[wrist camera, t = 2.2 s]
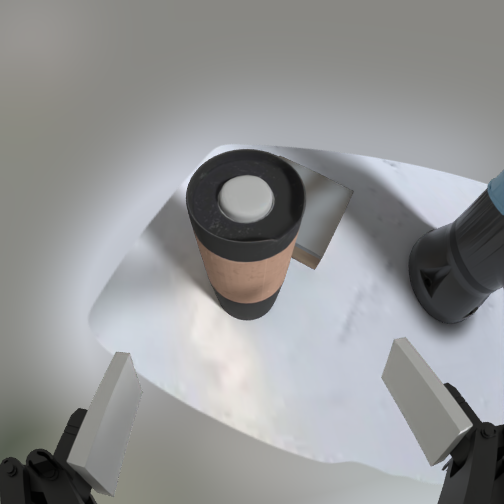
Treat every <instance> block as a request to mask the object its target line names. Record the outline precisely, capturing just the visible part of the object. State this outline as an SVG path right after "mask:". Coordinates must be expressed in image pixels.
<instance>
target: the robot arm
mask: <svg viewBox="0 0 504 504" xmlns="http://www.w3.org/2000/svg"><path fill="white" fill-rule="evenodd" d="M409 273H410V279H411V283H412V287H413V290H414V292H415V294H416V296H417V298H418V300H419V302H420V303H421V305H422V306H423V307H424V309H425V310H426V311H427V312H428V313H429V314H430V315H431V316H433V317H434V318H435V319H437V320H439V321H441V322H444V323H457V322H460V321H462V320H464V319H466V318H468V317H470V316H471V315H473V314H474V313H475V312H476V310H477V309H478V308H479V307H480V306H481V305H482V304H483V302H484V301H485V300H486V299H487V298H488V297H489V295H490V294H491V293H493V292H494V291H496V290H498V289H500V288H502V287H503V288H504V170H503V171H502V172H501V173H500V174H499V175H498V176H497V177H496V178H494V179H492V180H491V181H490V182H489V184H488V188H487V189H486V190H485V191H484V192H483V193H482V194H481V195H480V196H479V197H478V198H477V199H476V200H475V201H474V202H473V203H472V204H471V205H470V206H469V207H468V208H467V209H466V210H465V211H464V212H463V213H462V214H461V215H460V216H459V217H458V218H457V219H456V220H455V221H454V222H453V223H450V224H448V225H445V226H443V227H440V228H438V229H434V230H431V231H429V232H427V233H426V234H425V235H424V236H423V237H422V238H421V239H420V240H418V242H417V243H416V244H415V245H414V247H413V249H412V251H411V255H410V260H409ZM381 378H382V380H383V381H384V383H385V385H386V387H387V388H388V390H389V392H390V393H391V395H392V397H393V398H394V400H395V402H396V404H397V405H398V407H399V409H400V411H401V412H402V414H403V416H404V418H405V419H406V421H407V423H408V425H409V427H410V428H411V430H412V432H413V434H414V436H415V437H416V439H417V441H418V443H419V445H420V447H421V449H422V450H423V452H424V454H425V456H426V458H427V460H428V462H429V464H430V466H434V465H436V464H438V463H440V462H442V461H444V460H445V459H446V457H447V456H448V455H449V454H450V455H451V456H452V458H451V459H450V460H449V461H448V462H447V463H446V464H445V465H444V467H443V468H442V470H443V471H444V470H445V469H446V468H447V466H448V469H447V470H446V471H447V473H446V477H445V481H444V484H443V488H442V491H441V495H440V498H439V501H438V504H504V424H503V425H499V426H494V425H493V424H492V423H489V422H483V423H482V422H481V421H480V419H479V418H478V417H477V415H476V414H475V413H474V411H473V410H472V409H471V407H470V406H469V405H468V403H467V402H465V399H464V398H463V397H461V394H460V393H459V392H458V390H457V389H456V388H455V387H453V386H452V385H450V384H449V383H446V384H443V383H442V382H441V381H440V379H439V378H438V377H437V376H436V374H435V373H434V372H433V370H432V369H431V368H430V367H429V365H428V364H427V363H426V362H425V360H424V359H423V358H422V357H421V355H420V354H419V353H418V352H417V350H416V349H415V348H414V347H413V346H412V344H411V343H410V342H409V341H408V340H407V338H406V337H404V338H399V339H394V341H393V344H392V347H391V351H390V354H389V357H388V360H387V363H386V366H385V369H384V371H383V374H382V377H381ZM142 393H143V391H142V388H141V385H140V383H139V380H138V377H137V374H136V371H135V368H134V364H133V361H132V358H131V355H130V353H123V352H116V353H115V355H114V357H113V359H112V361H111V363H110V365H109V367H108V369H107V371H106V373H105V375H104V377H103V379H102V381H101V383H100V385H99V387H98V390H97V392H96V394H95V396H94V398H93V400H92V402H91V405H90V407H89V409H88V410H85V409H81V408H78V409H77V410H76V411H75V412H74V413H73V414H72V415H71V417H70V419H69V421H68V423H67V426H66V428H65V430H64V433H63V435H62V436H61V439H60V441H59V443H58V445H57V448H56V450H55V452H54V455H52V454H51V453H50V452H48V451H47V450H44V449H35V450H33V451H32V452H30V454H29V455H28V456H27V459H26V465H23V464H22V463H21V462H20V461H19V460H17V459H16V458H13V457H9V458H6V459H4V460H3V461H2V463H1V464H0V501H1V504H97V503H96V501H95V499H94V498H93V496H92V495H91V493H90V492H91V489H92V488H93V489H94V490H95V491H96V492H98V493H101V494H105V495H108V496H112V497H114V494H115V490H116V486H117V482H118V478H119V474H120V470H121V466H122V462H123V458H124V454H125V451H126V447H127V443H128V440H129V436H130V432H131V429H132V426H133V422H134V419H135V415H136V412H137V409H138V405H139V402H140V399H141V396H142Z"/></svg>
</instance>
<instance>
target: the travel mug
mask: <svg viewBox="0 0 504 504" xmlns="http://www.w3.org/2000/svg"><path fill="white" fill-rule="evenodd" d="M186 205H187V209H188V214H189V217H190V220H191V224H192V227H193V230H194V233H195V237H196V240H197V243H198V246H199V249H200V253H201V256H202V259H203V262H204V265H205V268H206V271H207V274H208V277H209V280H210V282H211V284H212V287H213V289H214V291H215V293H216V295H217V297H218V300H219V302H220V304H221V305H222V307H223V308H224V310H225V311H226V312H227V313H228V314H230V315H231V316H233V317H235V318H237V319H241V320H254V319H257V318H260V317H262V316H263V315H265V314H266V313H267V312H268V311H269V310H270V309H271V307H272V306H273V304H274V302H275V300H276V298H277V296H278V293H279V291H280V289H281V286H282V284H283V282H284V279H285V276H286V273H287V269H288V266H289V263H290V259H291V256H292V253H293V249H294V246H295V242H296V239H297V235H298V232H299V228H300V225H301V221H302V218H303V215H304V212H305V207H306V190H305V186H304V183H303V181H302V179H301V177H300V175H299V174H298V172H297V171H296V170H295V169H294V168H293V167H292V166H291V165H290V164H289V163H288V162H287V161H285V160H284V159H282V158H280V157H278V156H276V155H274V154H271V153H269V152H265V151H260V150H254V149H239V150H232V151H228V152H225V153H222V154H219V155H217V156H214V157H213V158H211V159H209V160H208V161H206V162H205V163H204V164H202V165H201V166H200V167H199V168H198V169H197V171H196V172H195V173H194V174H193V176H192V178H191V180H190V182H189V184H188V188H187V192H186Z"/></svg>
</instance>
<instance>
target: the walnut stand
mask: <svg viewBox="0 0 504 504" xmlns="http://www.w3.org/2000/svg"><path fill="white" fill-rule="evenodd" d="M279 157H280V158H282V159H284V160H285V161H287V162H288V163H289V164H290V165H291V166H292V167H293V168H294V169H295V170H296V171H297V172H298V174H299V175H300V177H301V179H302V181H303V183H304V186H305V190H306V207H305V212H304V215H303V218H302V221H301V225H300V228H299V232H298V235H297V239H296V242H295V246H294V249H293V253H292V256H291V257H292V258H294V259H295V260H297V261H299V262H301V263H303V264H305V265H307V266H308V267H310V268H312V269H314V270H315V269H316V267H317V265H318V264H319V262H320V260H321V259H322V257H323V255H324V253H325V251H326V249H327V247H328V245H329V243H330V241H331V239H332V237H333V235H334V233H335V230H336V228H337V226H338V224H339V222H340V220H341V218H342V216H343V213H344V211H345V209H346V207H347V205H348V203H349V200H350V198H351V196H352V194H353V192H354V191H352V190H350V189H348V188H346V187H345V186H343V185H341V184H339V183H337V182H335V181H333V180H331V179H329V178H327V177H325V176H323V175H321V174H319V173H316V172H314V171H312V170H310V169H308V168H306V167H304V166H302V165H300V164H297V163H295V162H293V161H291V160H288V159H286V158H284V157H282V156H279Z"/></svg>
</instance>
